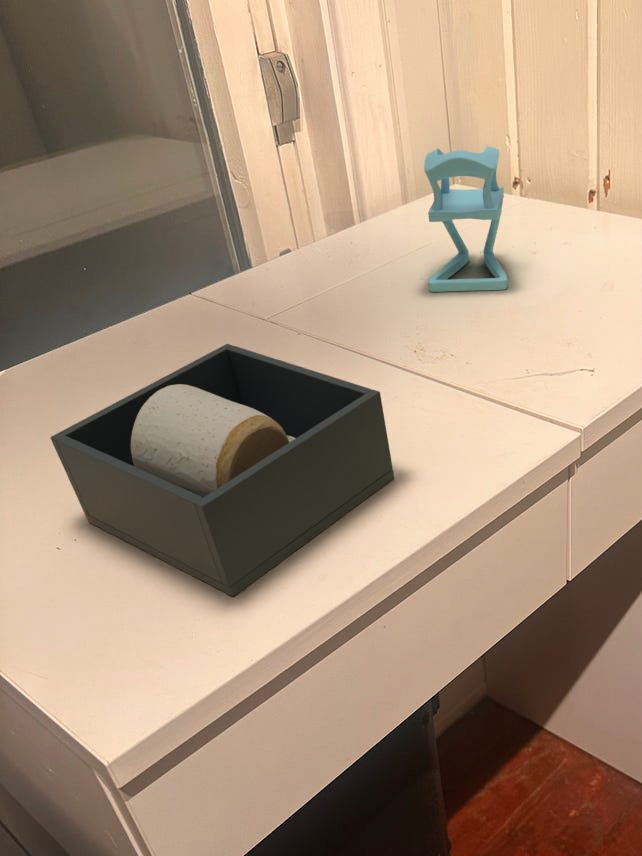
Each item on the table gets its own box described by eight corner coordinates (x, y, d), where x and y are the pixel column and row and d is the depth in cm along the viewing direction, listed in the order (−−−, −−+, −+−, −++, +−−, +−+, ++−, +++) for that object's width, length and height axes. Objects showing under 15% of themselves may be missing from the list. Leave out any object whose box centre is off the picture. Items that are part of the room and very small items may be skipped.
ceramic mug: (239, 545, 59) (207, 440, 54) (149, 515, 63) (111, 413, 57) (337, 466, 66) (317, 365, 61) (251, 442, 69) (225, 345, 64)
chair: (514, 257, 94) (508, 127, 86) (507, 289, 88) (499, 154, 80) (440, 259, 95) (427, 132, 87) (428, 292, 89) (413, 158, 81)
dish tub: (87, 522, 64) (49, 436, 60) (249, 424, 73) (227, 343, 68) (233, 597, 57) (201, 506, 52) (394, 478, 65) (380, 391, 61)
